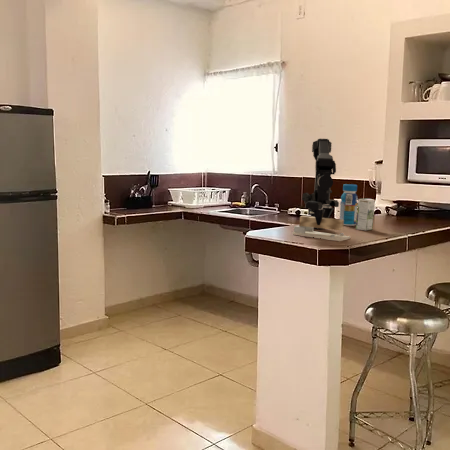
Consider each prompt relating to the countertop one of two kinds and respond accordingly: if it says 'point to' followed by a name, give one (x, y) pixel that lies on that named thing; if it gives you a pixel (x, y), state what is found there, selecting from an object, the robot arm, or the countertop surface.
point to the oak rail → (322, 223)
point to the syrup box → (365, 214)
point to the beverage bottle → (349, 205)
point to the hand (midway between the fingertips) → (321, 224)
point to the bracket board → (318, 233)
